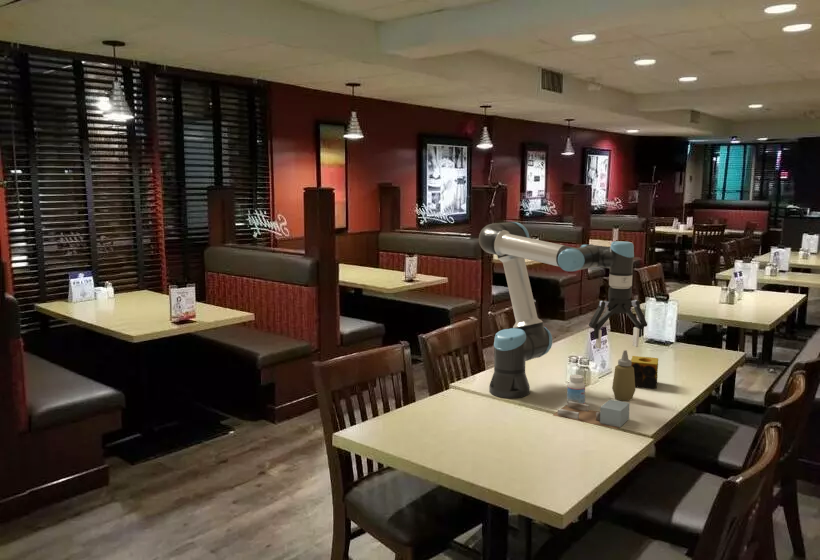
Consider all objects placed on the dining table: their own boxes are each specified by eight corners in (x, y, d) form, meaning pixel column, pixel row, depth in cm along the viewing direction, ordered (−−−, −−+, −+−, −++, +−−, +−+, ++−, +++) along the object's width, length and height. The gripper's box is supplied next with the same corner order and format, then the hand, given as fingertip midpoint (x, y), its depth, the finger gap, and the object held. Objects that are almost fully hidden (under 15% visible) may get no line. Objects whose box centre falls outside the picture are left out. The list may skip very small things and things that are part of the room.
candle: (628, 386, 251) (629, 361, 249) (630, 379, 260) (631, 355, 259) (656, 389, 247) (657, 364, 246) (657, 382, 256) (658, 357, 255)
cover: (599, 423, 209) (600, 407, 209) (609, 414, 217) (609, 399, 216) (620, 427, 206) (620, 411, 205) (628, 418, 213) (629, 402, 212)
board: (552, 419, 218) (552, 407, 217) (565, 409, 227) (566, 398, 227) (617, 433, 205) (618, 421, 204) (629, 421, 215) (629, 410, 214)
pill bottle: (585, 410, 226) (586, 379, 224) (567, 409, 227) (567, 378, 225) (584, 404, 232) (585, 374, 230) (566, 403, 233) (567, 373, 231)
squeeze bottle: (636, 396, 239) (638, 349, 237) (633, 403, 232) (635, 354, 229) (613, 393, 243) (615, 347, 240) (610, 400, 235) (612, 352, 233)
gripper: (589, 289, 217) (586, 350, 221) (660, 288, 221) (656, 348, 224) (581, 285, 225) (578, 345, 228) (649, 284, 228) (645, 342, 232)
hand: (616, 347), depth 226 cm, fingers open, 13 cm apart
